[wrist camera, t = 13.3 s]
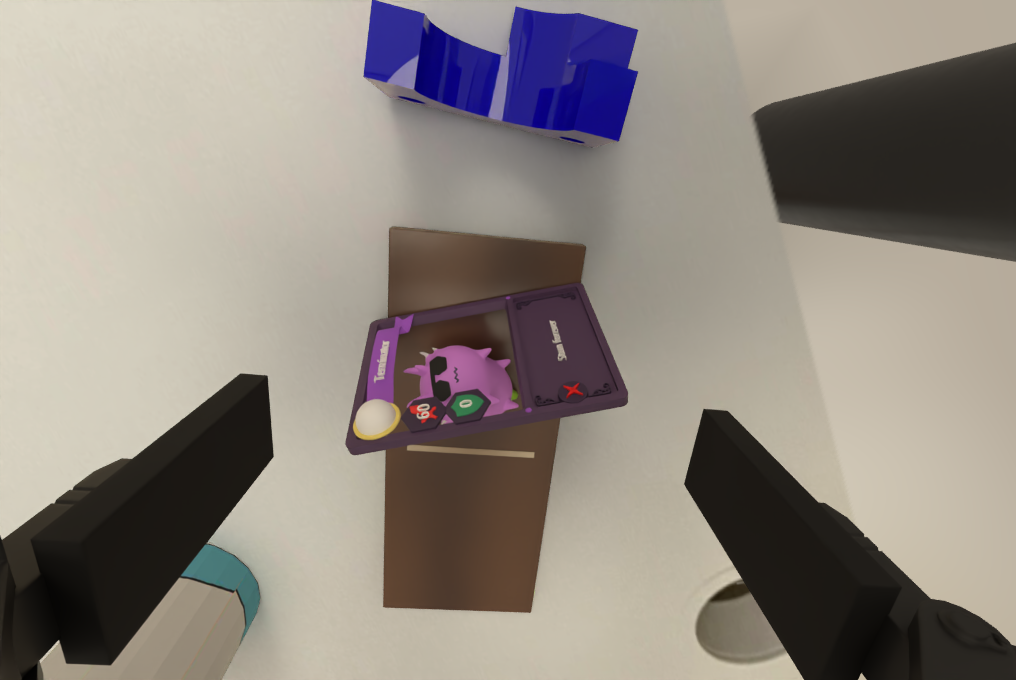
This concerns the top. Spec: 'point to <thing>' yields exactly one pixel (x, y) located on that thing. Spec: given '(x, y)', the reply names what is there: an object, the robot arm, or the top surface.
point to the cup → (182, 628)
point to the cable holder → (510, 72)
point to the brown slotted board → (475, 457)
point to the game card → (488, 373)
